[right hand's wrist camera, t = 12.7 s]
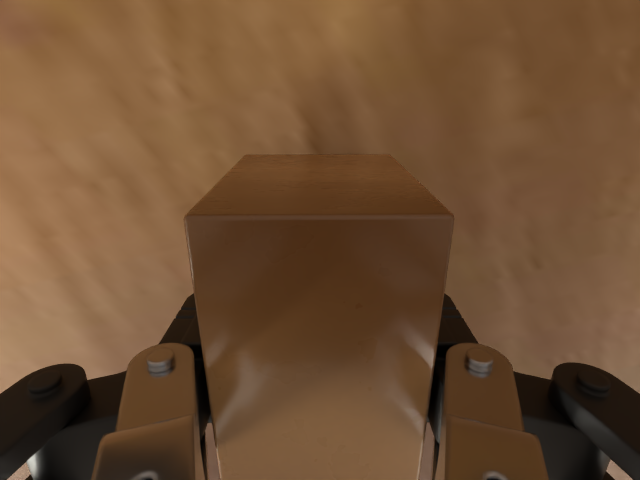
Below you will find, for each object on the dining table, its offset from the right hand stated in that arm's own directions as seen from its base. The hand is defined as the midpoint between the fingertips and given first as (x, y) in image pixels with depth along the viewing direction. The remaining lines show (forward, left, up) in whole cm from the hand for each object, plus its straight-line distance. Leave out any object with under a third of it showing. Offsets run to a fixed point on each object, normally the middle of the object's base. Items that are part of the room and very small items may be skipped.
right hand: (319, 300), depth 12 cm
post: (+21, -24, -2) cm, 32 cm away
